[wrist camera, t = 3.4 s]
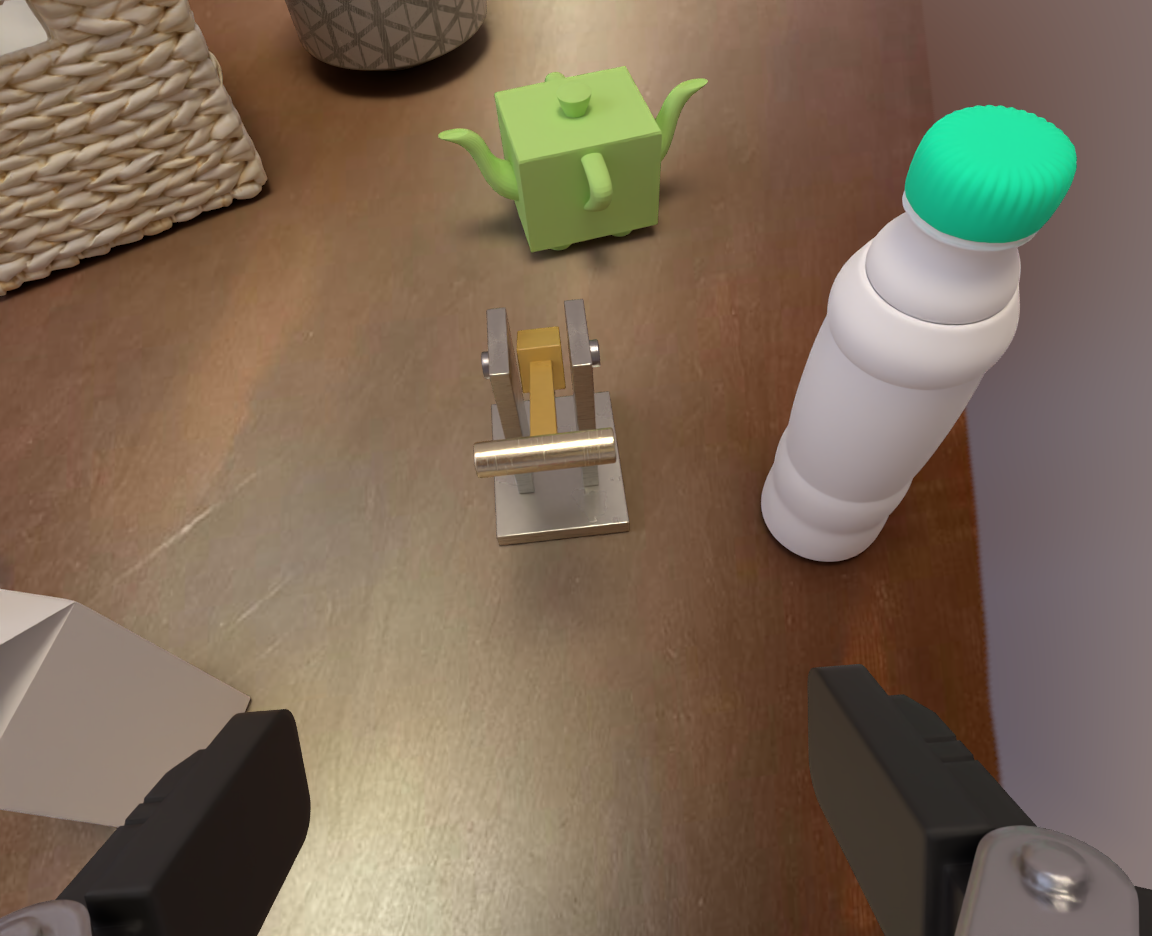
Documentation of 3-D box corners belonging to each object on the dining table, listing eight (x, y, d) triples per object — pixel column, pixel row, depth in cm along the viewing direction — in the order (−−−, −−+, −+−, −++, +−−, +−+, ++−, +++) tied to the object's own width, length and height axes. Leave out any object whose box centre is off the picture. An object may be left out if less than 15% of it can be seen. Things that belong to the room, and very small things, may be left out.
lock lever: (618, 480, 28) (614, 426, 27) (480, 495, 28) (470, 442, 27) (593, 364, 39) (589, 322, 37) (492, 376, 39) (486, 333, 37)
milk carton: (198, 839, 36) (-151, 787, 20) (72, 815, 37) (-359, 746, 21) (253, 697, 39) (-4, 554, 23) (138, 678, 40) (-186, 528, 24)
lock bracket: (629, 531, 44) (631, 407, 33) (499, 546, 44) (458, 427, 33) (609, 401, 49) (605, 257, 38) (493, 414, 49) (456, 273, 38)
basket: (-59, 149, 69) (-308, -127, 51) (209, 57, 75) (74, -219, 57) (-29, 321, 56) (-347, 35, 38) (292, 194, 62) (152, -105, 44)
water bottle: (900, 510, 43) (1171, 129, 22) (833, 589, 41) (1063, 248, 20) (803, 445, 46) (959, 50, 25) (735, 515, 44) (843, 146, 22)
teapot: (697, 188, 60) (710, 61, 51) (632, 295, 54) (634, 172, 45) (538, 146, 64) (524, 22, 55) (461, 241, 58) (431, 119, 49)
